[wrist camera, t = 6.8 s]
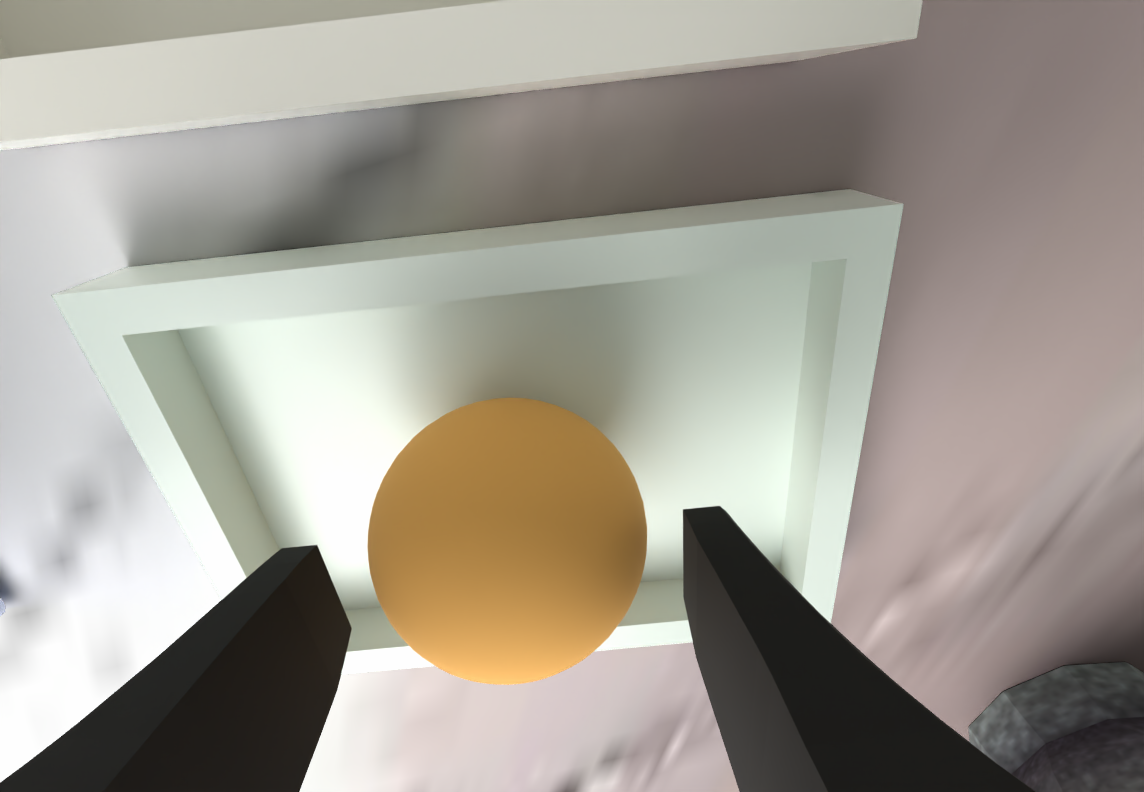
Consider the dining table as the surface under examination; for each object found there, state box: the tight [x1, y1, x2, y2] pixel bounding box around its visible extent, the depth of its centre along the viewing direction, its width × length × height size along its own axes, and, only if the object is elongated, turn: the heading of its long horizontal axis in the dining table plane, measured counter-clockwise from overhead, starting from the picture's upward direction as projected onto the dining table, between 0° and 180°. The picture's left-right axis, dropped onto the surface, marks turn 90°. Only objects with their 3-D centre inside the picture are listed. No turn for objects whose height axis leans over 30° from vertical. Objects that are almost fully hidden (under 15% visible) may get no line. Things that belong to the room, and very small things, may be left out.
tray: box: [51, 189, 904, 675], centre depth 12 cm, size 14×10×2 cm
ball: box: [367, 398, 647, 685], centre depth 10 cm, size 5×5×5 cm
